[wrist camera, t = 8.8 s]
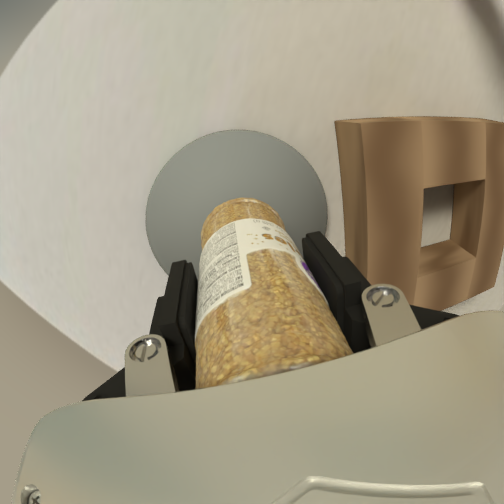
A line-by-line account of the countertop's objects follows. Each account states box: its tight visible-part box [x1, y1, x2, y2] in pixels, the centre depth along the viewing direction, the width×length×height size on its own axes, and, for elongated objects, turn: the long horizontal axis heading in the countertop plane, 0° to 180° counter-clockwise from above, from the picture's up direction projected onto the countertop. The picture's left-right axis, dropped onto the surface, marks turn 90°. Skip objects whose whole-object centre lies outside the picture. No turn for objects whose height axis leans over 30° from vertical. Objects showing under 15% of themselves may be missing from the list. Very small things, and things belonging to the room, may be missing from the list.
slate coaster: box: [146, 130, 327, 280], centre depth 18 cm, size 11×11×1 cm
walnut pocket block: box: [335, 116, 504, 311], centre depth 18 cm, size 14×14×4 cm
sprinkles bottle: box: [195, 198, 354, 389], centre depth 10 cm, size 5×5×14 cm
